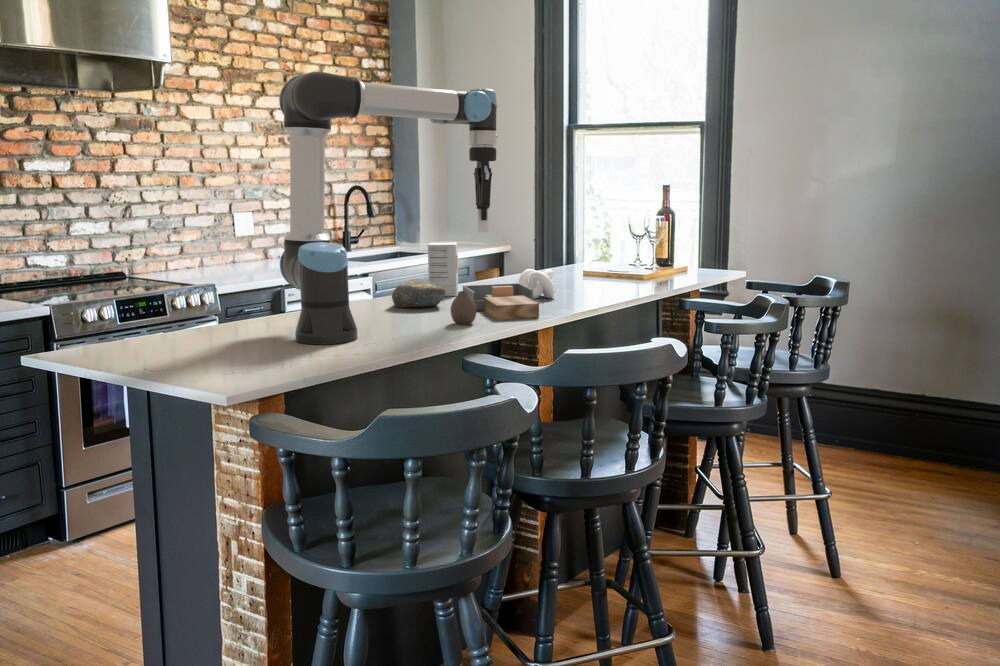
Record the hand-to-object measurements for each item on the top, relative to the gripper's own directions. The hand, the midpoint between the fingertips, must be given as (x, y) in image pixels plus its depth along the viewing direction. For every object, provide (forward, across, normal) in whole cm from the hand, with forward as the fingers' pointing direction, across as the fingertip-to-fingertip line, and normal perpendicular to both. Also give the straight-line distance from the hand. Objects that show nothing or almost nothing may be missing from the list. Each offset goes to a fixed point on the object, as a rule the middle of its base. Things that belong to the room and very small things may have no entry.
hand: (482, 231), depth 258 cm
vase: (+24, -15, +8) cm, 29 cm away
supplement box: (+24, +42, +5) cm, 48 cm away
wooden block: (+23, -3, -8) cm, 25 cm away
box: (+23, +13, -7) cm, 27 cm away
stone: (+24, +19, +16) cm, 34 cm away
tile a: (+20, +6, -8) cm, 22 cm away
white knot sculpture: (+23, +25, -24) cm, 42 cm away
